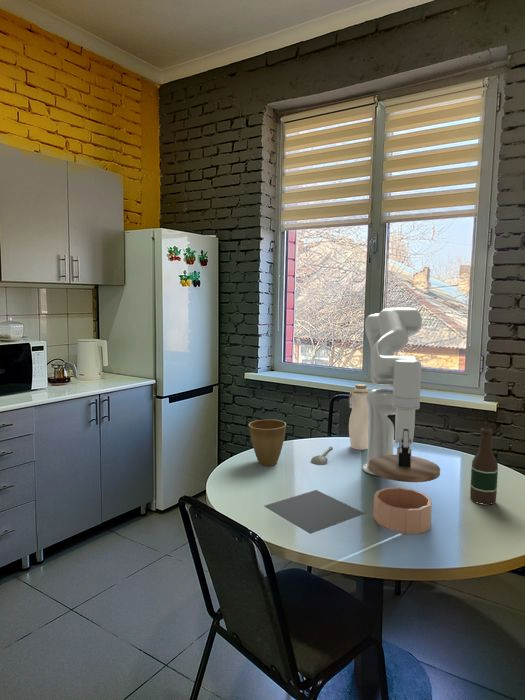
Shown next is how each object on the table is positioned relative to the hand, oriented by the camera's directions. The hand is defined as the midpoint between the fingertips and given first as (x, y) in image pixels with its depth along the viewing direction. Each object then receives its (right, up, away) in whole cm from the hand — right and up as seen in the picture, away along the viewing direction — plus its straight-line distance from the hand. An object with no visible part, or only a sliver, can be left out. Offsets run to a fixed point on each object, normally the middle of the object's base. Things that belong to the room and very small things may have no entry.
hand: (403, 463), depth 140 cm
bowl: (0, -18, +2) cm, 18 cm away
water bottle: (+1, -10, +73) cm, 73 cm away
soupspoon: (-15, -12, +60) cm, 63 cm away
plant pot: (-39, -12, +52) cm, 67 cm away
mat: (-25, -17, +8) cm, 32 cm away
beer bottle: (+31, -16, +17) cm, 38 cm away
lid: (0, -2, 0) cm, 2 cm away
